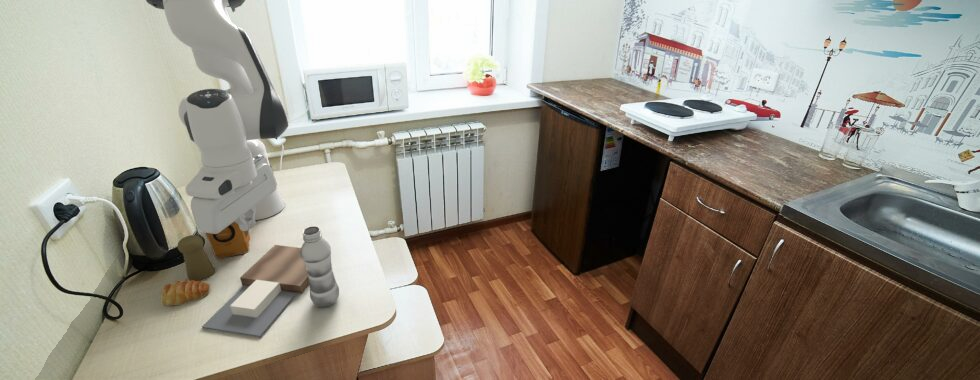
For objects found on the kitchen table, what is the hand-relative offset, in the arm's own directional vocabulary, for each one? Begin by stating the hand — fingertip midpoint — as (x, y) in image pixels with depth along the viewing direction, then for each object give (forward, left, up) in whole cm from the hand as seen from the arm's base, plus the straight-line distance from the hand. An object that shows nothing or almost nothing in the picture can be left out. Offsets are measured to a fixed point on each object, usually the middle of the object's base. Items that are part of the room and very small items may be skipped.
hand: (248, 227), depth 92 cm
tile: (0, -4, -19) cm, 19 cm away
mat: (0, -6, -19) cm, 20 cm away
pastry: (-19, -4, -20) cm, 27 cm away
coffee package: (-22, +15, -19) cm, 33 cm away
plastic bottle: (+15, 0, -19) cm, 24 cm away
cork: (-21, +3, -19) cm, 29 cm away
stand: (0, +8, -19) cm, 21 cm away
